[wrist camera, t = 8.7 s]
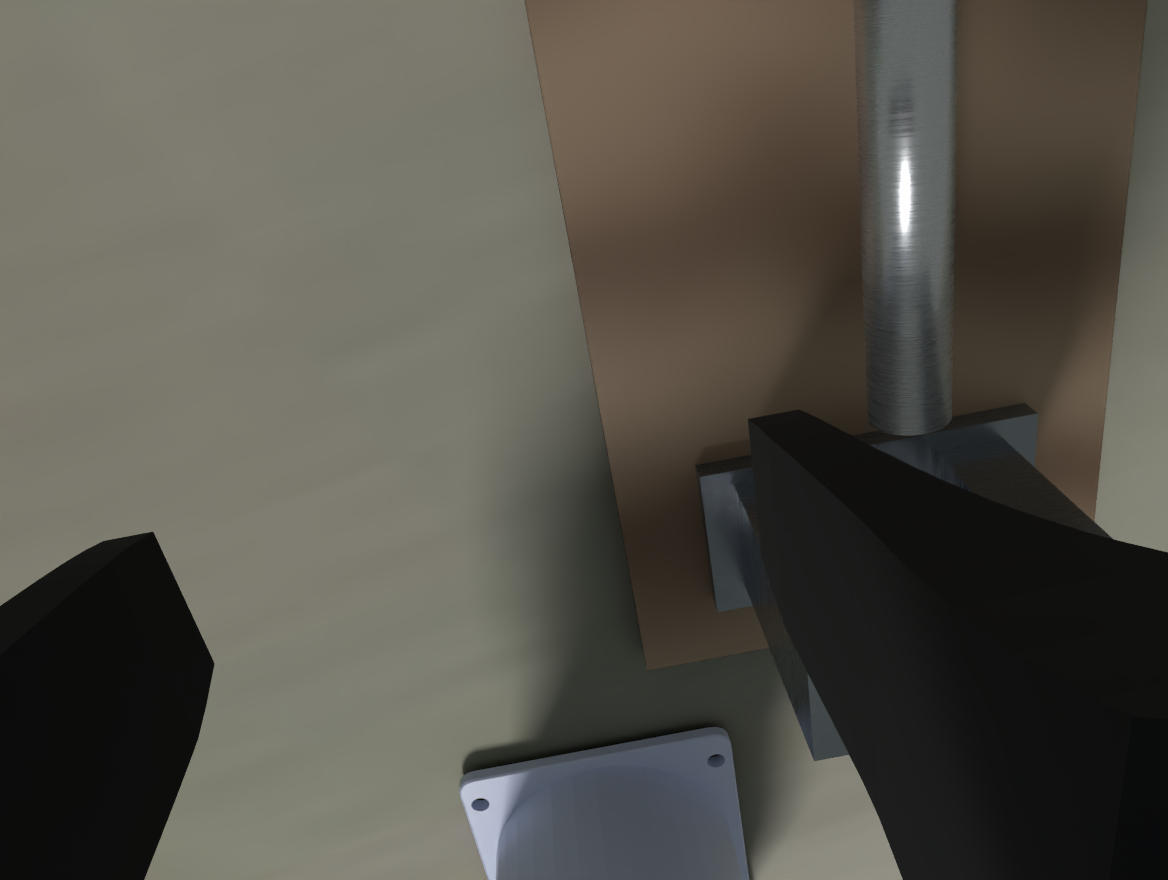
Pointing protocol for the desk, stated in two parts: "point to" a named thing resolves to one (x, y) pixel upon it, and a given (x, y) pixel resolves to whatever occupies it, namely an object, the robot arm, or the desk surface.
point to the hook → (907, 208)
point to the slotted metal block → (954, 454)
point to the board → (819, 243)
